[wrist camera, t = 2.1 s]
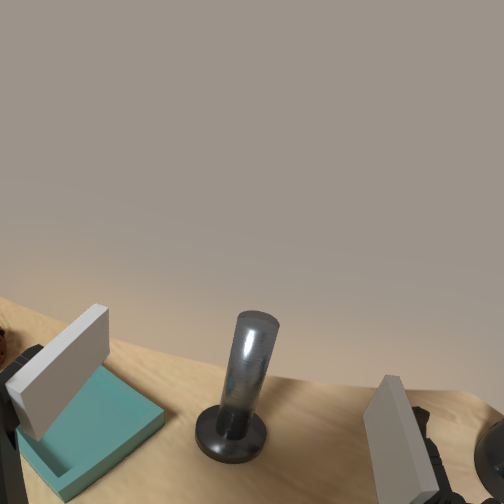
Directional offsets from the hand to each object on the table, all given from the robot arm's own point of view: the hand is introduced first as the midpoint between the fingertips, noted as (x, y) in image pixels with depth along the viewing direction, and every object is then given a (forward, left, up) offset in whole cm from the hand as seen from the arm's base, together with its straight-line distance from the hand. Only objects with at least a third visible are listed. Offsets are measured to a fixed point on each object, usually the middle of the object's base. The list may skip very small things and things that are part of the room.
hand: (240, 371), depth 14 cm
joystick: (+3, -9, -17) cm, 20 cm away
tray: (+16, +1, -17) cm, 24 cm away
